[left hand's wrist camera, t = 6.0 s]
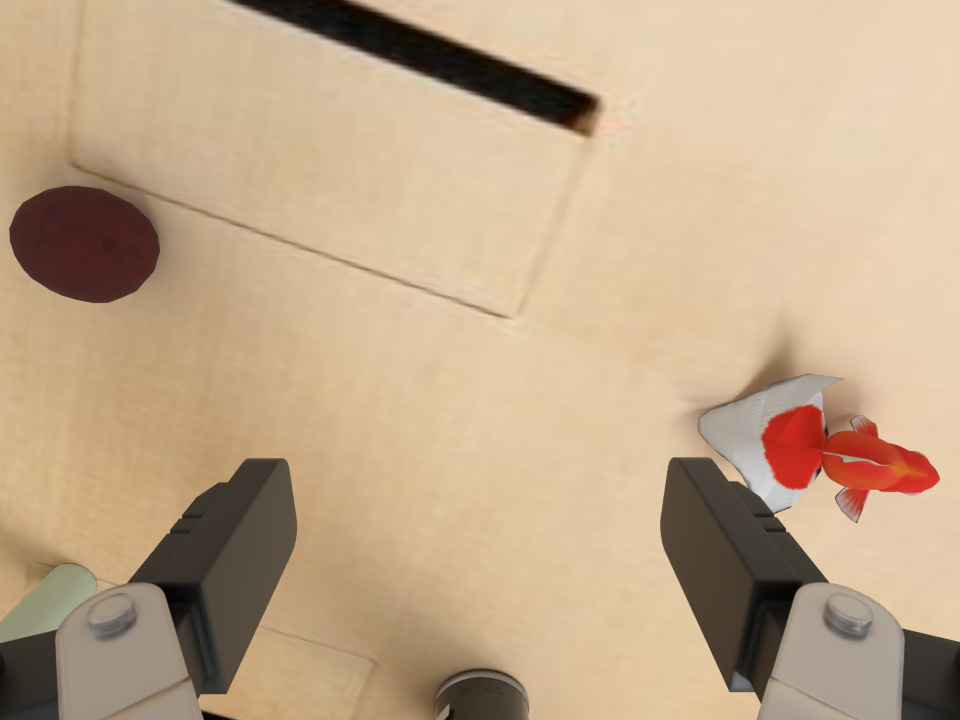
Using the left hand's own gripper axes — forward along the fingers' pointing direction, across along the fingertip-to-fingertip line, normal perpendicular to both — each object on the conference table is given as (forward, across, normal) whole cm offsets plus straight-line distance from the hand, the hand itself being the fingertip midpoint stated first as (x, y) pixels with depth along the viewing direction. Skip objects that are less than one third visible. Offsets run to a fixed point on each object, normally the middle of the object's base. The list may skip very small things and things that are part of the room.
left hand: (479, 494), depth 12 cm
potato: (+29, -25, +1) cm, 38 cm away
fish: (+29, +24, -14) cm, 40 cm away
